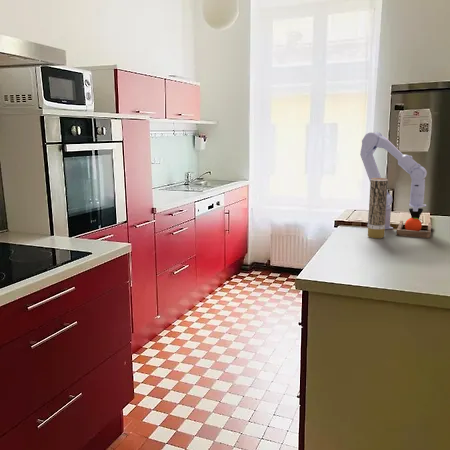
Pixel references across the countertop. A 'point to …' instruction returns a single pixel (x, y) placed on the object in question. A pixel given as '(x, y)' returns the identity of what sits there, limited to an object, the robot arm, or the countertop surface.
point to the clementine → (413, 224)
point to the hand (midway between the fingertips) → (414, 224)
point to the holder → (413, 232)
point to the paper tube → (377, 207)
